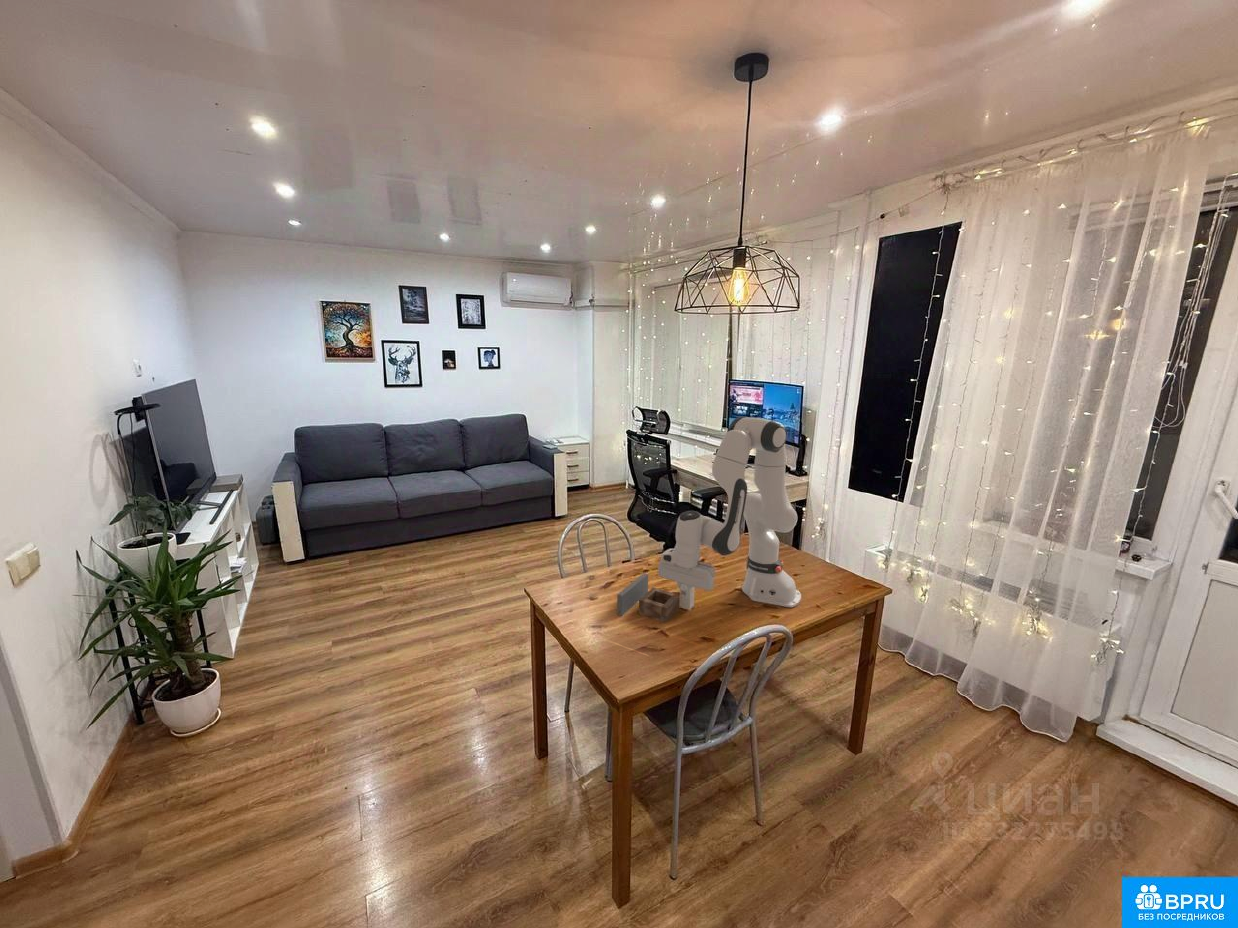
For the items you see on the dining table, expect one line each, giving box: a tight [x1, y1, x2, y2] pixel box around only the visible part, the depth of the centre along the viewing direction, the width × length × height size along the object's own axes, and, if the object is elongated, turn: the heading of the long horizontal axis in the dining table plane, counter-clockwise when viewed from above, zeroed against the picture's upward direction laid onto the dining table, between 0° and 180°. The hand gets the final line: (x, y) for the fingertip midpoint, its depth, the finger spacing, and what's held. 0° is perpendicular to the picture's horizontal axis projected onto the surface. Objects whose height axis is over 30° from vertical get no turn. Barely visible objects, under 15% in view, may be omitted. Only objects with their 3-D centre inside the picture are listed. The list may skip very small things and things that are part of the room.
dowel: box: [679, 584, 696, 611], centre depth 184 cm, size 4×4×10 cm
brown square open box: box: [638, 586, 680, 624], centre depth 180 cm, size 11×11×6 cm
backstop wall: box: [616, 572, 649, 617], centre depth 185 cm, size 2×20×8 cm, turn 149°
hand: (684, 594), depth 173 cm, fingers closed
